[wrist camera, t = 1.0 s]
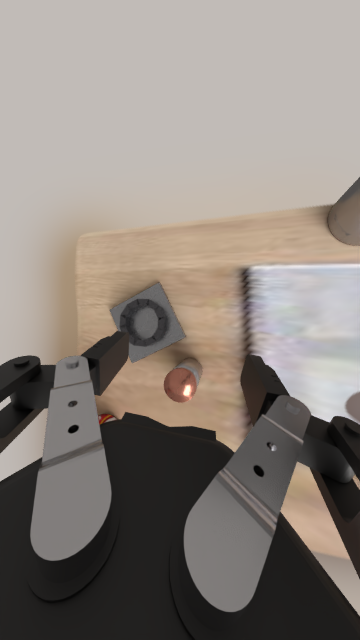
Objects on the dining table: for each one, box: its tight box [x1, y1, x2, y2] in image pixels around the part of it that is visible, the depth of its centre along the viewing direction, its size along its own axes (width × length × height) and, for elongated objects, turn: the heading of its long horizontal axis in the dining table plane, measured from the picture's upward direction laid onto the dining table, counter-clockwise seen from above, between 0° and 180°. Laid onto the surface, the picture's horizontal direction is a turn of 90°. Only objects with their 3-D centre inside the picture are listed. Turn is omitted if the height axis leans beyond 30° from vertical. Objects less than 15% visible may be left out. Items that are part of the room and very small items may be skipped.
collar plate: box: [110, 283, 186, 363], centre depth 35 cm, size 12×12×3 cm
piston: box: [164, 358, 202, 402], centre depth 29 cm, size 4×4×10 cm
